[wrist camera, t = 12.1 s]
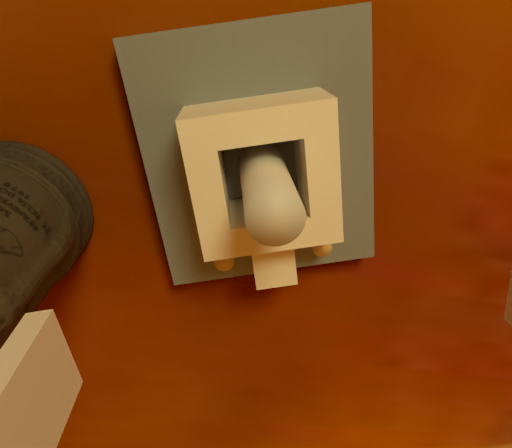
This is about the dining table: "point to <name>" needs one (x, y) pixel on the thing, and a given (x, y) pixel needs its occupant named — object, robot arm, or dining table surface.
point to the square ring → (258, 133)
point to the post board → (247, 76)
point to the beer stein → (36, 228)
